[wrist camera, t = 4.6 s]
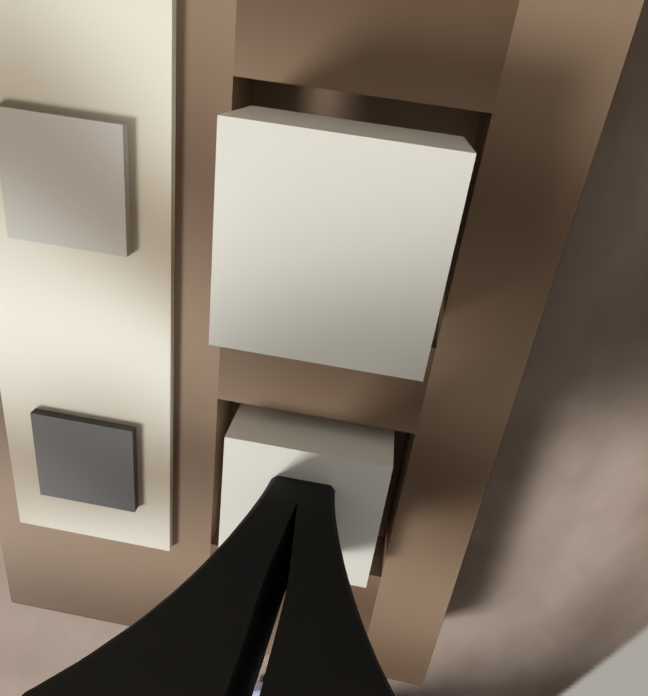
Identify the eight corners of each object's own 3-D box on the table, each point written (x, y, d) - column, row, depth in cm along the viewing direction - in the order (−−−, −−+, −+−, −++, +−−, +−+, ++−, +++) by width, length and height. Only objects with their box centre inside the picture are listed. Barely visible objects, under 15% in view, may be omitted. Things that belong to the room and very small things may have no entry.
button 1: (370, 527, 15) (365, 588, 14) (238, 502, 16) (217, 559, 14) (394, 415, 14) (393, 467, 12) (247, 389, 14) (224, 436, 12)
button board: (420, 623, 18) (422, 699, 16) (49, 550, 19) (2, 613, 16) (860, -845, 7) (1075, -1276, 4) (-131, -889, 7) (-355, -1284, 5)
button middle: (420, 330, 11) (423, 381, 9) (239, 300, 11) (208, 345, 10) (463, 137, 10) (476, 153, 8) (251, 105, 10) (217, 115, 8)
